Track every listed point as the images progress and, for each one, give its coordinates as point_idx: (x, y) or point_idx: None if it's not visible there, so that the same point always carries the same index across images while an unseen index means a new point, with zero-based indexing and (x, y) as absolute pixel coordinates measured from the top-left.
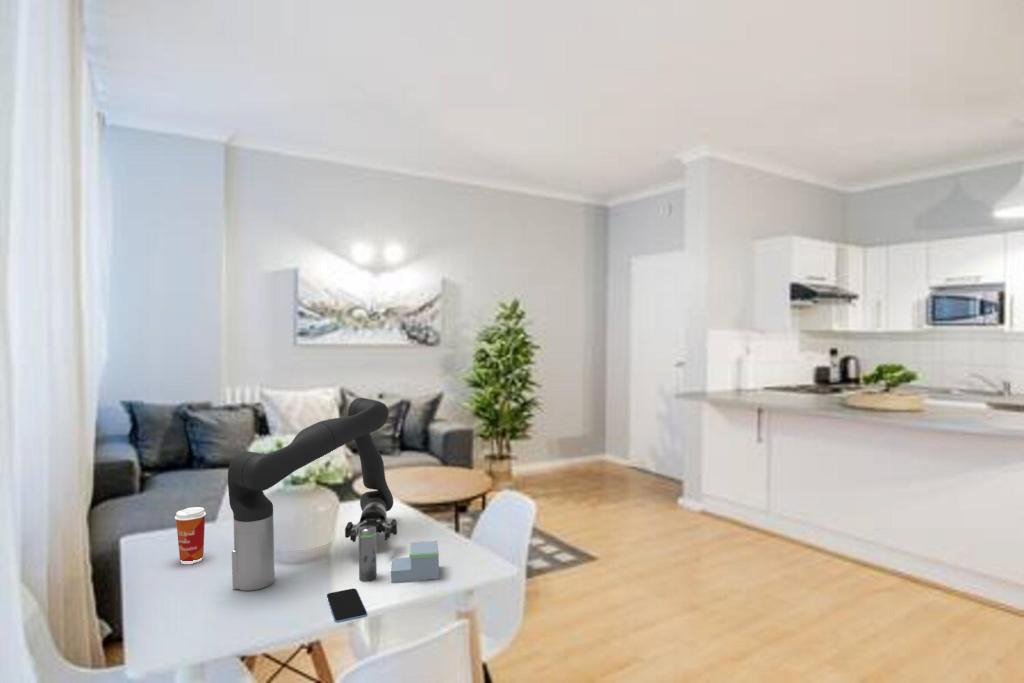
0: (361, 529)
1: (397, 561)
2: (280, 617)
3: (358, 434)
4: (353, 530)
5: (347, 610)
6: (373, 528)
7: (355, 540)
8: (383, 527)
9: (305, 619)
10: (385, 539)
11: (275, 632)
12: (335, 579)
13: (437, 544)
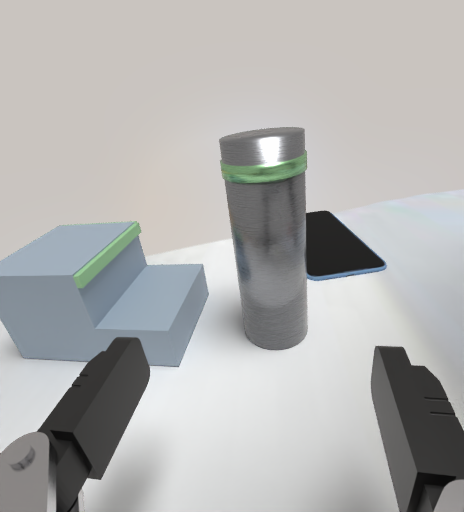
0: (288, 129)
1: (159, 308)
2: (453, 222)
3: None
4: (461, 485)
5: (312, 223)
6: (232, 136)
7: (377, 413)
8: (55, 510)
9: (391, 218)
10: (144, 369)
11: (427, 202)
12: (403, 337)
13: (10, 255)
